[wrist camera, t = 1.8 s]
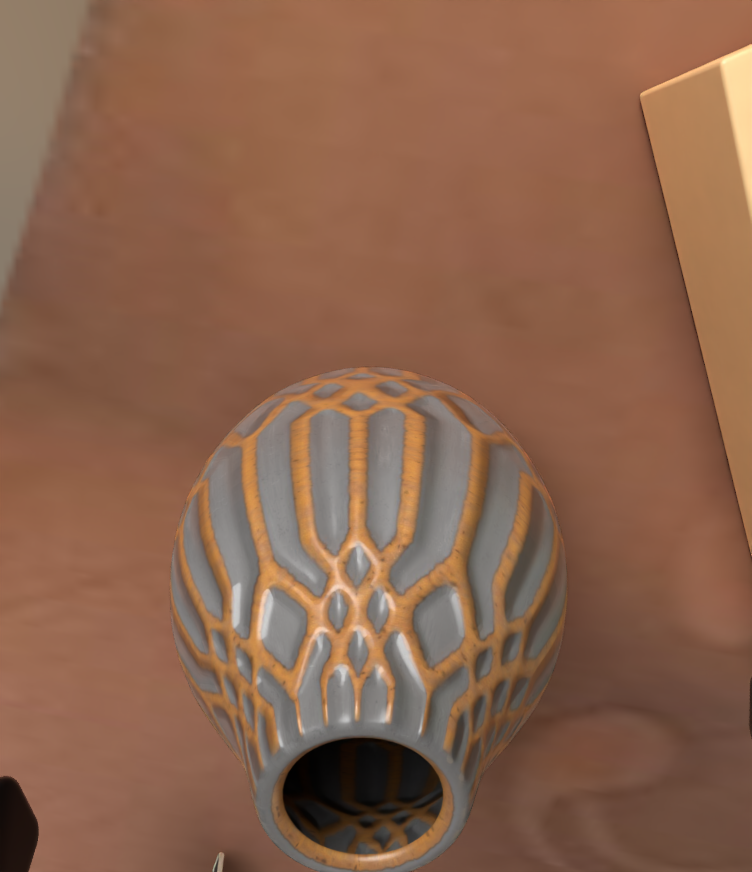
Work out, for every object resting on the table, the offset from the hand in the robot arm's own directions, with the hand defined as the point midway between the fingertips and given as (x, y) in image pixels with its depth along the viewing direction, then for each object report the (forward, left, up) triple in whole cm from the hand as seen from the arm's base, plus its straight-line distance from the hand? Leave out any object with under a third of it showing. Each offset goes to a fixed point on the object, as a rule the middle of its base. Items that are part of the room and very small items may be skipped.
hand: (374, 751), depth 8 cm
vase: (0, 0, -8) cm, 8 cm away
